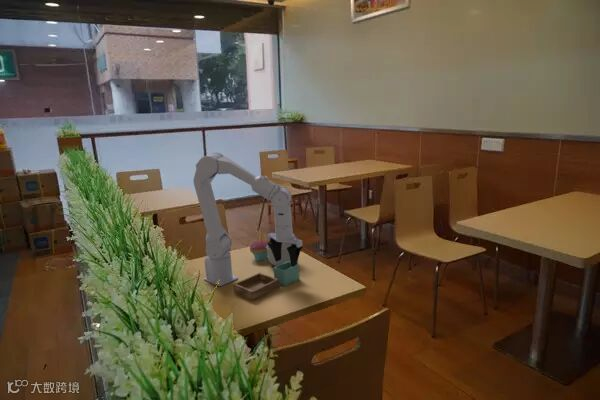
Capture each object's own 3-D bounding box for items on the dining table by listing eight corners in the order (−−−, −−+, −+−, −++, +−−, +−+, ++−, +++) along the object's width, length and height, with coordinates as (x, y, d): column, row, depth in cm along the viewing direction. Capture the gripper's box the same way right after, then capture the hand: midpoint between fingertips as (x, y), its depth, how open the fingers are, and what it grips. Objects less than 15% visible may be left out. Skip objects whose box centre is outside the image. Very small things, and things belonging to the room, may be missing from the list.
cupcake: (250, 255, 164) (248, 227, 161) (271, 253, 165) (269, 225, 162) (250, 263, 156) (248, 233, 153) (272, 261, 157) (270, 231, 154)
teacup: (292, 270, 147) (291, 249, 145) (264, 269, 150) (262, 248, 148) (300, 256, 161) (299, 236, 159) (274, 255, 163) (272, 236, 161)
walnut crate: (234, 292, 132) (233, 284, 131) (260, 280, 140) (259, 272, 139) (253, 301, 126) (252, 292, 125) (279, 287, 134) (278, 279, 133)
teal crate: (274, 282, 138) (273, 267, 136) (288, 275, 143) (288, 261, 141) (285, 286, 134) (284, 271, 133) (299, 279, 139) (298, 264, 138)
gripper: (307, 224, 132) (310, 263, 135) (276, 218, 142) (279, 254, 145) (292, 230, 127) (295, 271, 130) (261, 223, 137) (264, 261, 140)
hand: (286, 263), depth 137 cm, fingers open, 7 cm apart
